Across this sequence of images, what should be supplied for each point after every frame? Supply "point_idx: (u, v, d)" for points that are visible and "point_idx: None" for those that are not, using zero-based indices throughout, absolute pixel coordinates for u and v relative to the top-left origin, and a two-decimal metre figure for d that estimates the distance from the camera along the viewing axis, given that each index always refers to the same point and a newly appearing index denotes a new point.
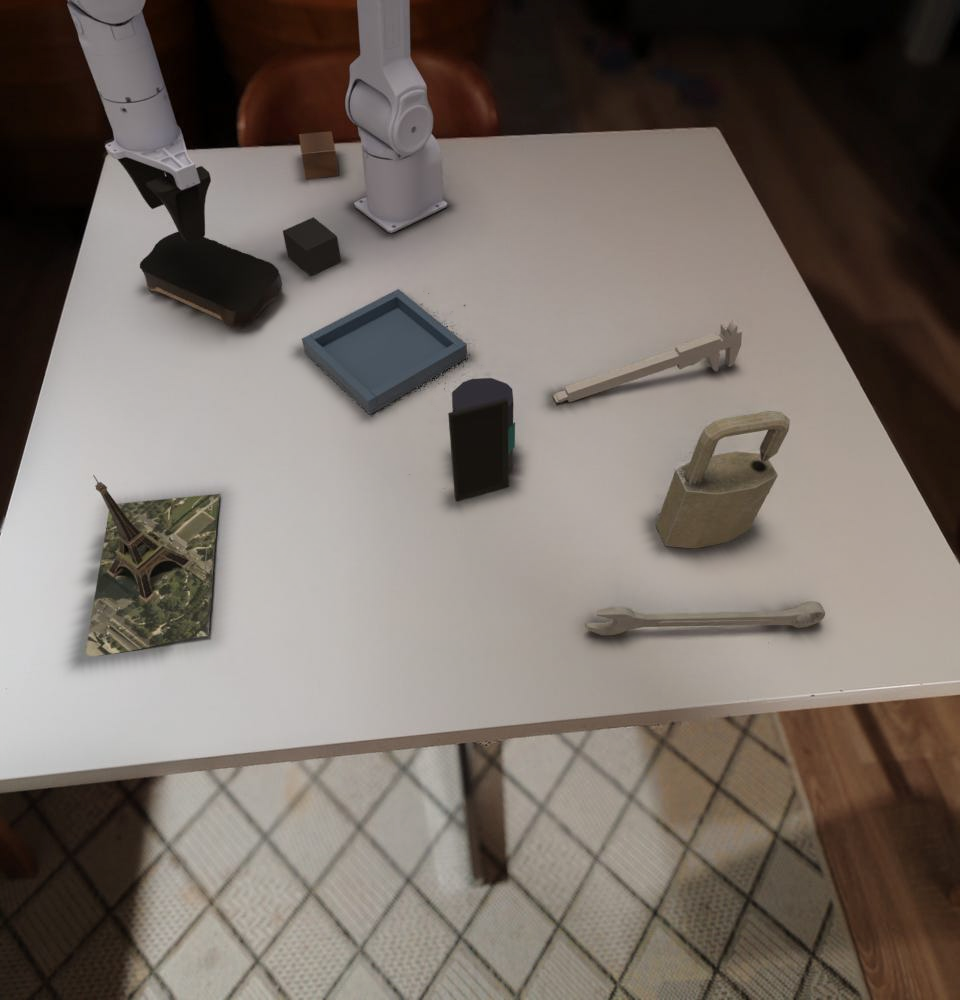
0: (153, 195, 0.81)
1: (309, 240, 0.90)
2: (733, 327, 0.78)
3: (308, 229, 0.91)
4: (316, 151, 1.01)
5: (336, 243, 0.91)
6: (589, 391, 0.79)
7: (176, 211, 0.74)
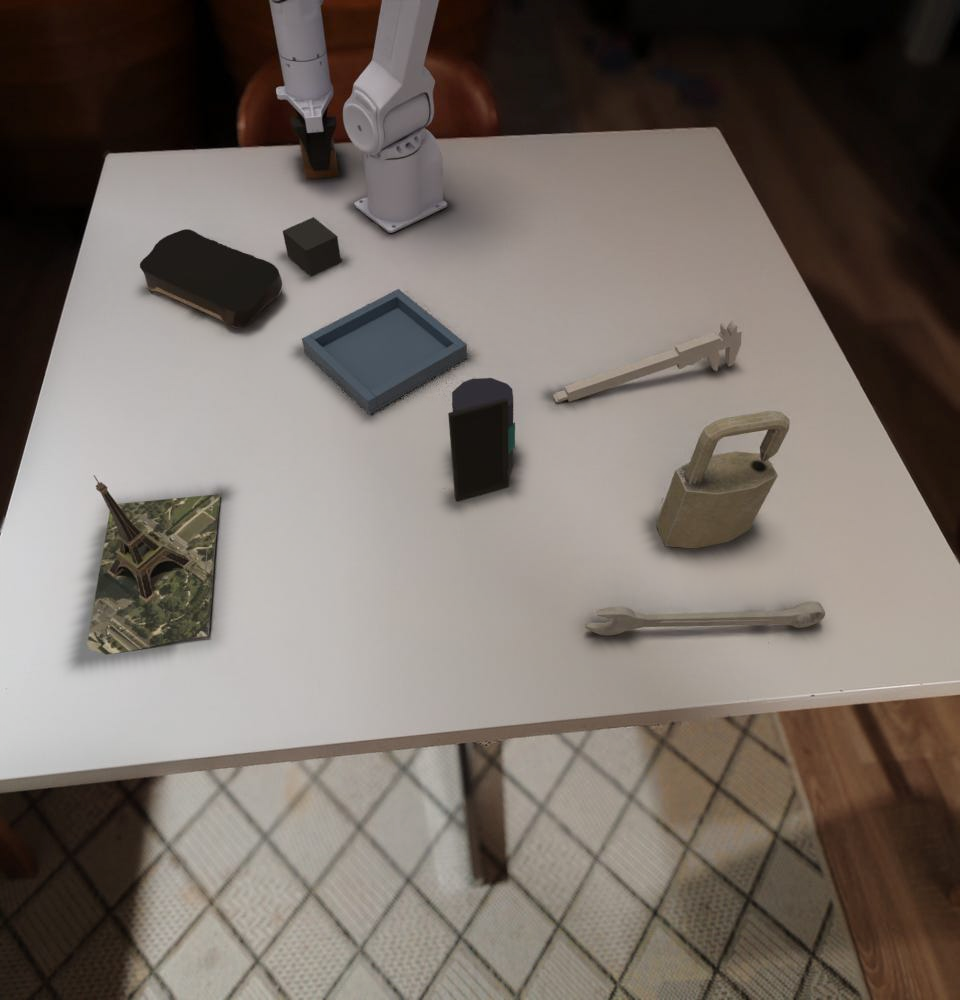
0: None
1: (309, 240, 0.90)
2: (733, 327, 0.78)
3: (308, 229, 0.91)
4: None
5: (336, 243, 0.91)
6: (589, 391, 0.79)
7: (306, 144, 0.98)
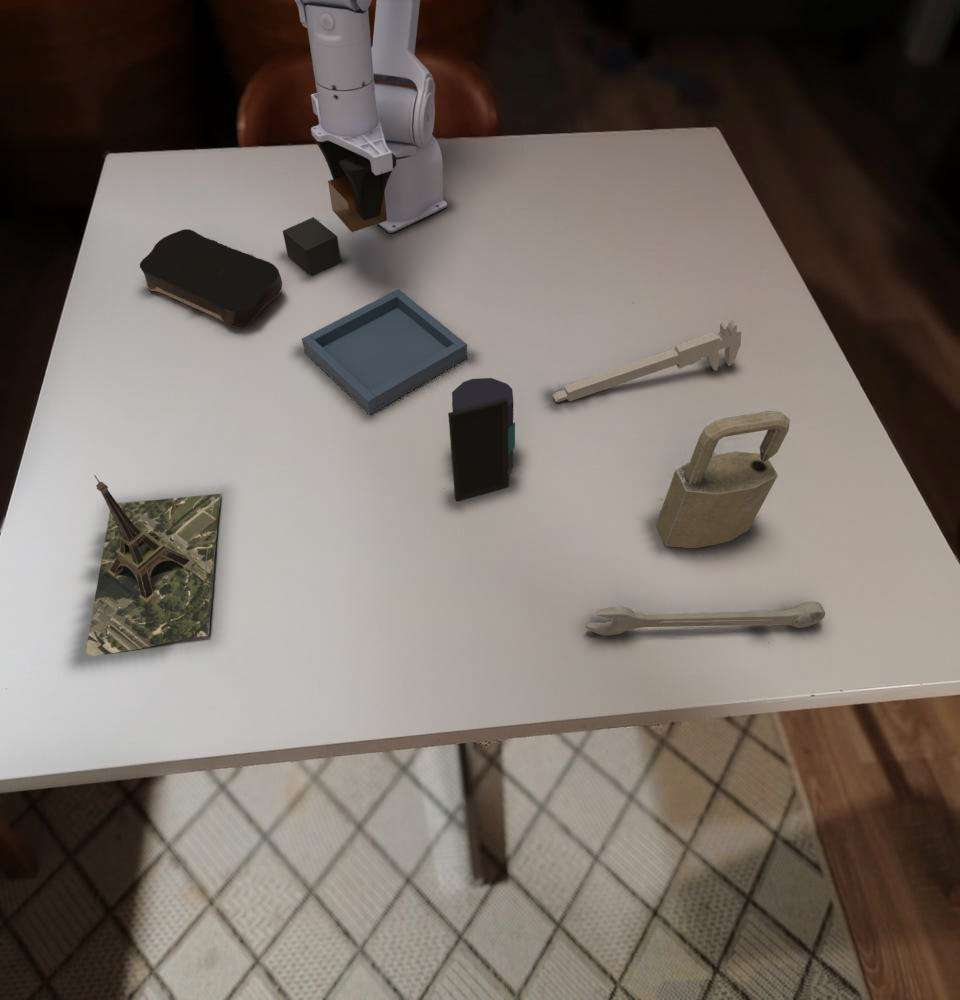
0: None
1: (309, 240, 0.90)
2: (733, 327, 0.78)
3: (308, 229, 0.91)
4: None
5: (336, 243, 0.91)
6: (589, 390, 0.80)
7: (360, 190, 0.80)
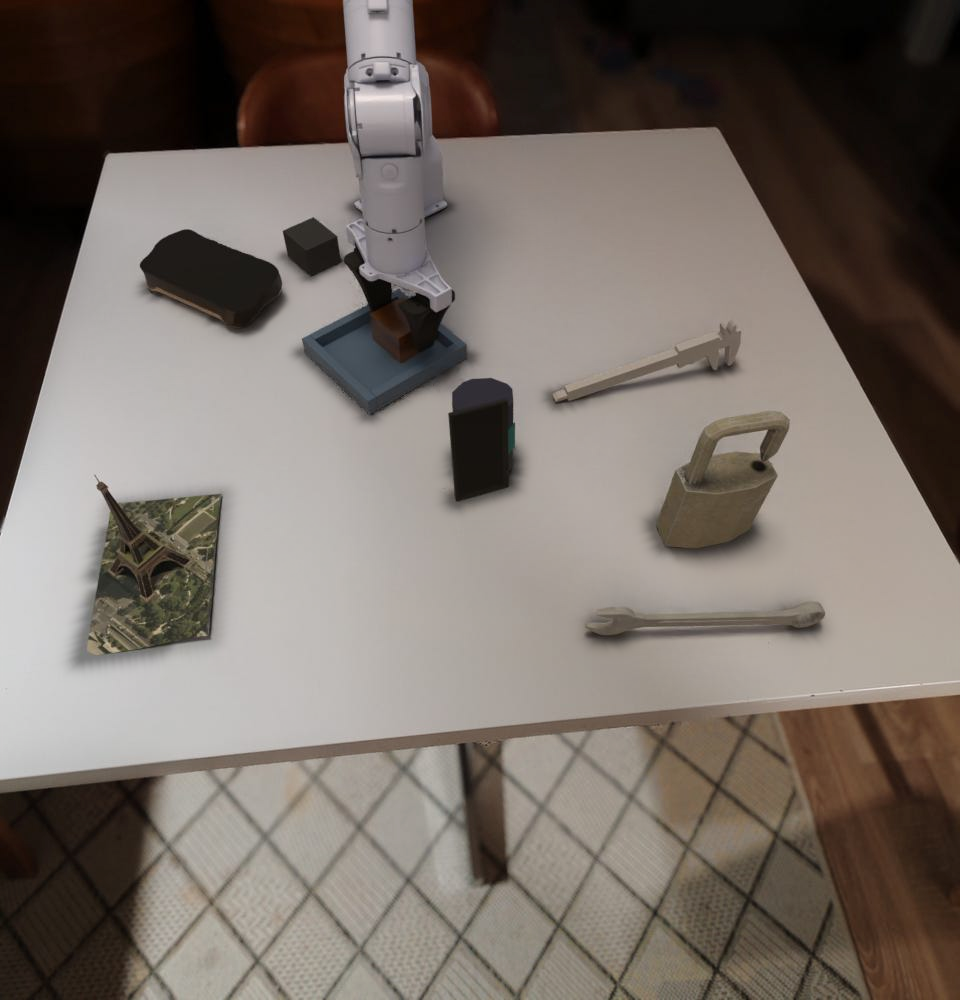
0: (379, 303, 0.83)
1: (309, 240, 0.90)
2: (733, 326, 0.78)
3: (308, 229, 0.91)
4: None
5: (336, 243, 0.91)
6: (588, 390, 0.80)
7: (420, 327, 0.76)
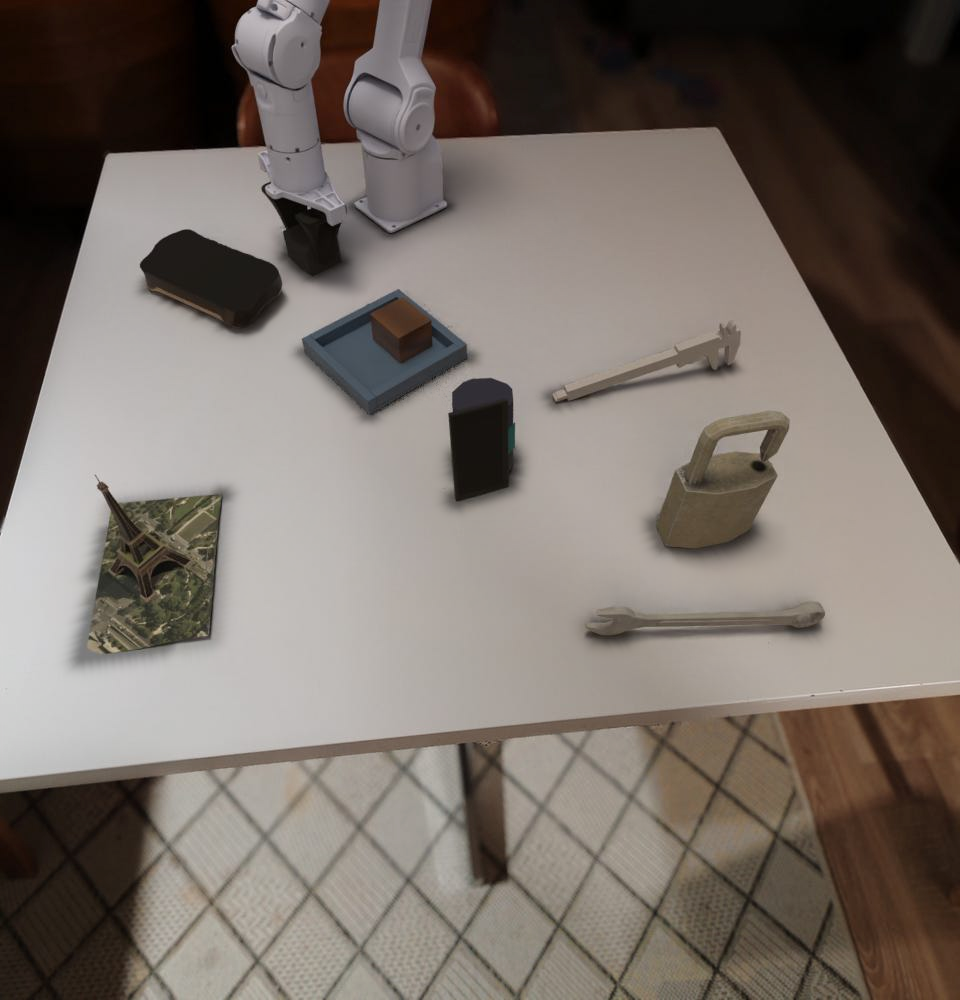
0: None
1: None
2: (732, 326, 0.79)
3: None
4: (412, 329, 0.80)
5: (337, 243, 0.91)
6: (588, 390, 0.80)
7: (316, 238, 0.86)
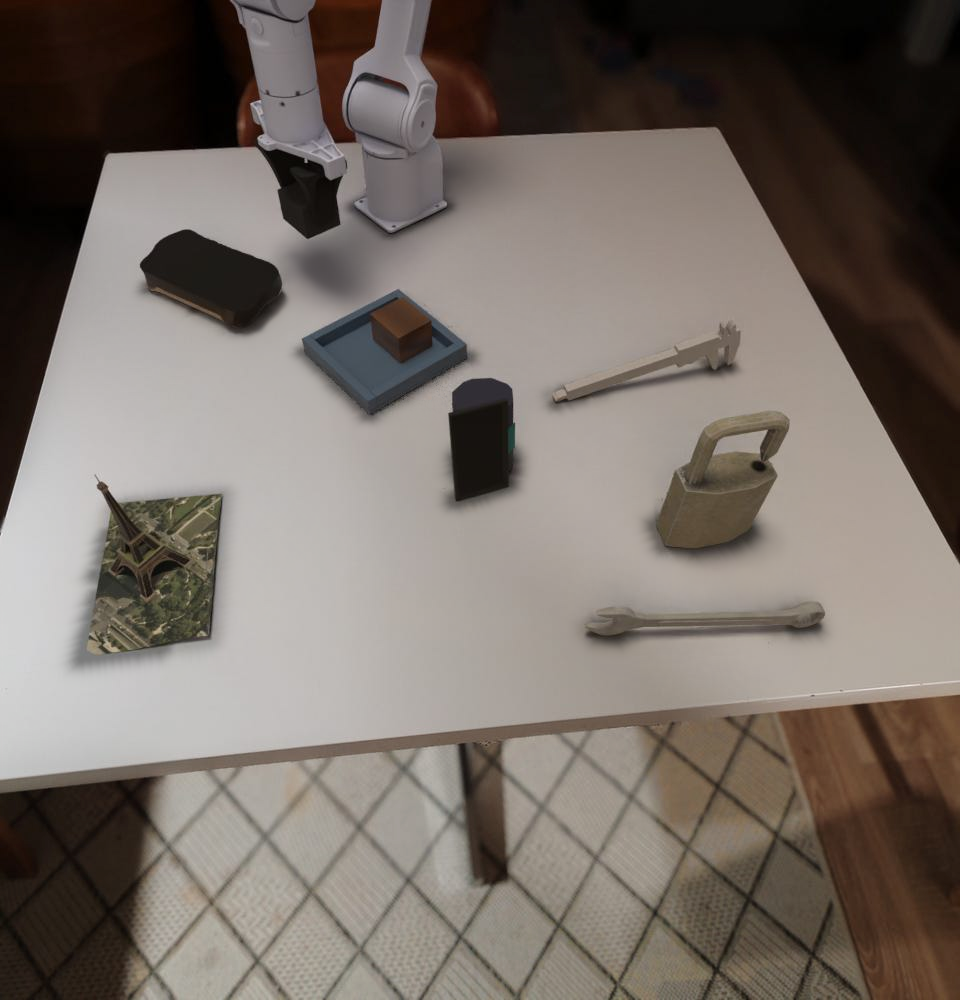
0: None
1: (305, 199, 0.82)
2: (732, 326, 0.79)
3: None
4: (412, 329, 0.80)
5: (336, 204, 0.83)
6: (588, 389, 0.80)
7: (314, 196, 0.79)
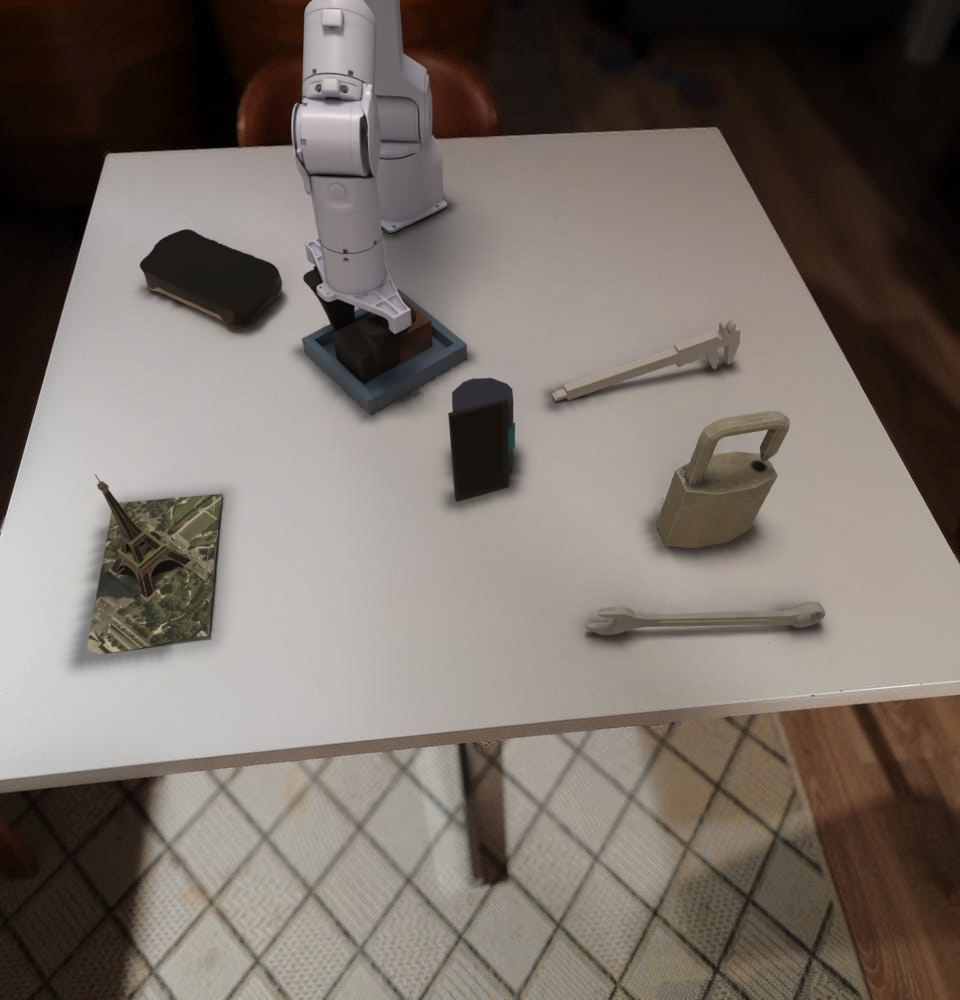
0: (341, 321, 0.81)
1: (363, 345, 0.78)
2: (732, 325, 0.79)
3: None
4: (412, 329, 0.80)
5: None
6: (588, 389, 0.80)
7: (380, 348, 0.74)
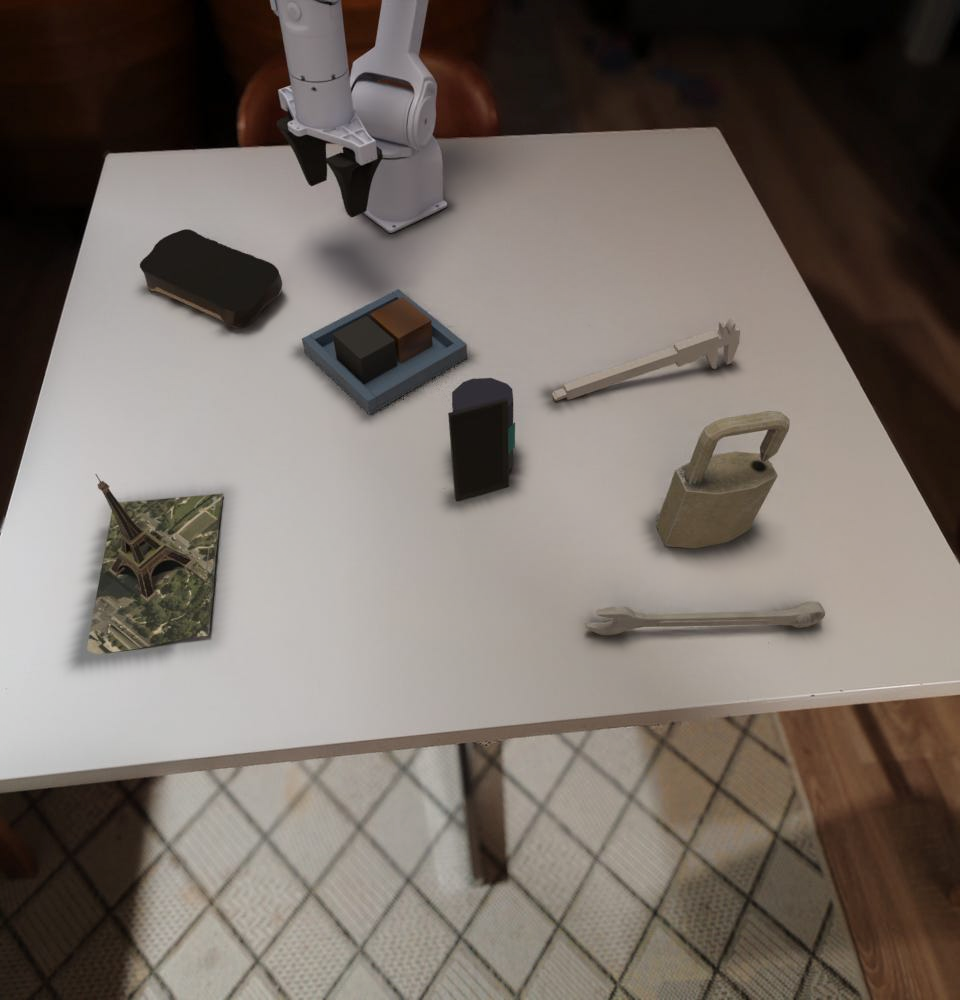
0: (314, 173, 0.85)
1: (363, 345, 0.78)
2: (732, 325, 0.79)
3: (361, 331, 0.80)
4: (412, 329, 0.80)
5: (394, 348, 0.80)
6: (588, 389, 0.80)
7: (349, 186, 0.79)
